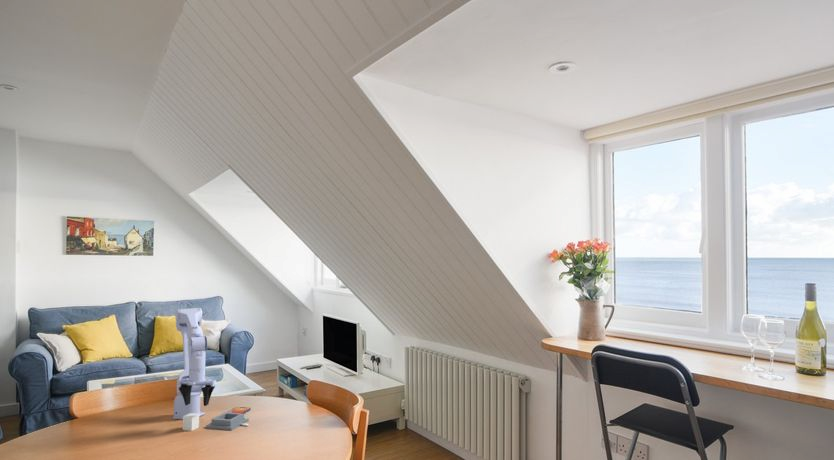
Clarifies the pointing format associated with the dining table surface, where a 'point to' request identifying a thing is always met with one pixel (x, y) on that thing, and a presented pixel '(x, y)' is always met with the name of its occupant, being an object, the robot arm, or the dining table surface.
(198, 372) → the robot arm
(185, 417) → the white block
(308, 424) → the dining table surface
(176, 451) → the dining table surface
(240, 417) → the block
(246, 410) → the smartphone
